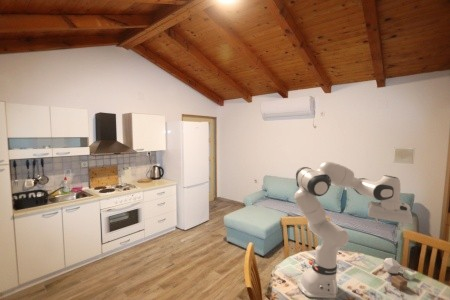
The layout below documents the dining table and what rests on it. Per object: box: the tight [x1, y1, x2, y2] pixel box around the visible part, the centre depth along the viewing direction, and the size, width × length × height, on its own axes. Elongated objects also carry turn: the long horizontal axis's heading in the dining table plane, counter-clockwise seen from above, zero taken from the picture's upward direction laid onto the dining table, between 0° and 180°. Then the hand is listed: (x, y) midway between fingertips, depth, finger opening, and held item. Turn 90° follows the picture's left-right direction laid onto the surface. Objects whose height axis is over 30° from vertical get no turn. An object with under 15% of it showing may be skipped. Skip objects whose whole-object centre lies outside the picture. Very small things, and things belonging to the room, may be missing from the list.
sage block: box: [402, 269, 415, 281], centre depth 133 cm, size 4×4×4 cm
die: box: [382, 257, 402, 275], centre depth 138 cm, size 8×9×10 cm
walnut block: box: [390, 274, 408, 292], centre depth 125 cm, size 5×5×6 cm
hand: (388, 227), depth 126 cm, fingers open, 8 cm apart
